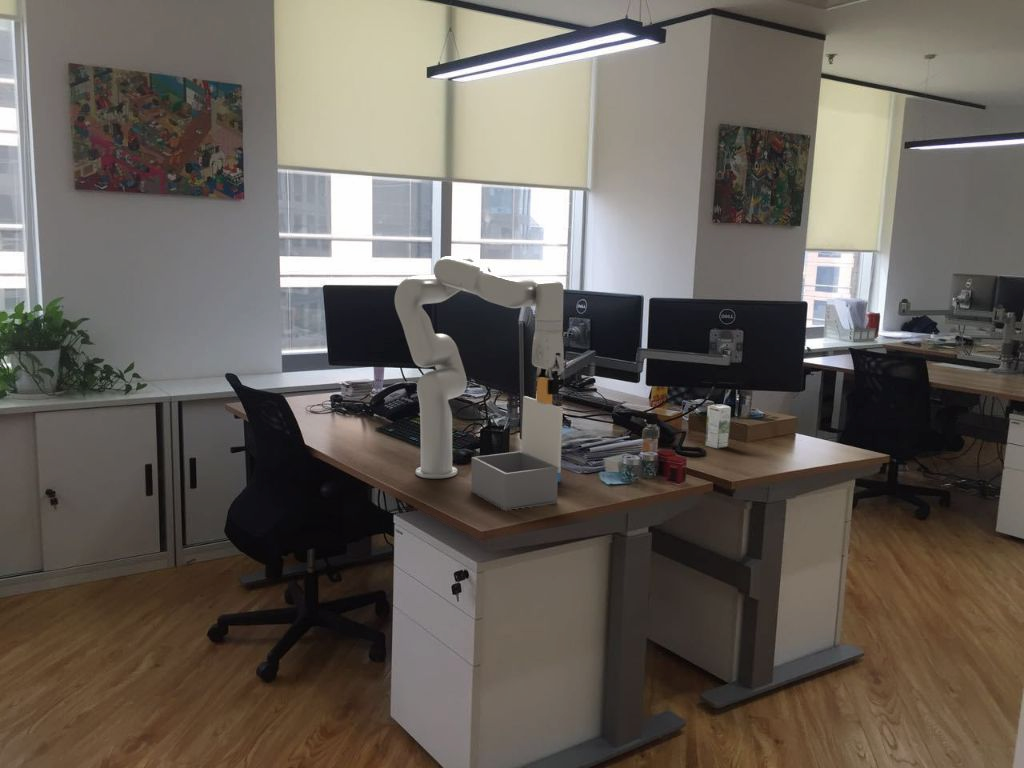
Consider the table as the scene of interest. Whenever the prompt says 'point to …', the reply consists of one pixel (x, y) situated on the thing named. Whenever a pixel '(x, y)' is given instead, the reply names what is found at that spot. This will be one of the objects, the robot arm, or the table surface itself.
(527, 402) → the lid flap
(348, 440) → the table surface
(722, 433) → the syrup box
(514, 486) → the carton
